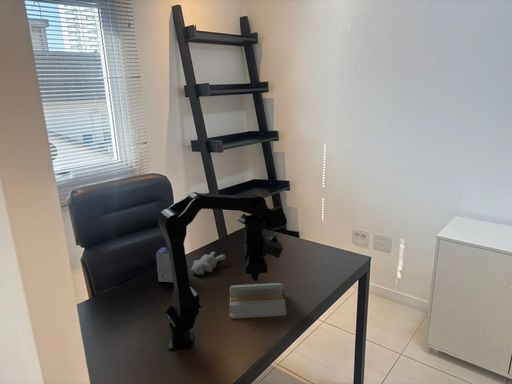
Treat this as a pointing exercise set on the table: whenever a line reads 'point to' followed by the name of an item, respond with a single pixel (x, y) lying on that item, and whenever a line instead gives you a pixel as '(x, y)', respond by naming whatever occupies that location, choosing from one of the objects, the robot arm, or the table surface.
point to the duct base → (257, 303)
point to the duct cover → (256, 286)
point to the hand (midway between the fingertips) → (255, 280)
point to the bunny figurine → (206, 263)
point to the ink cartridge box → (164, 265)
